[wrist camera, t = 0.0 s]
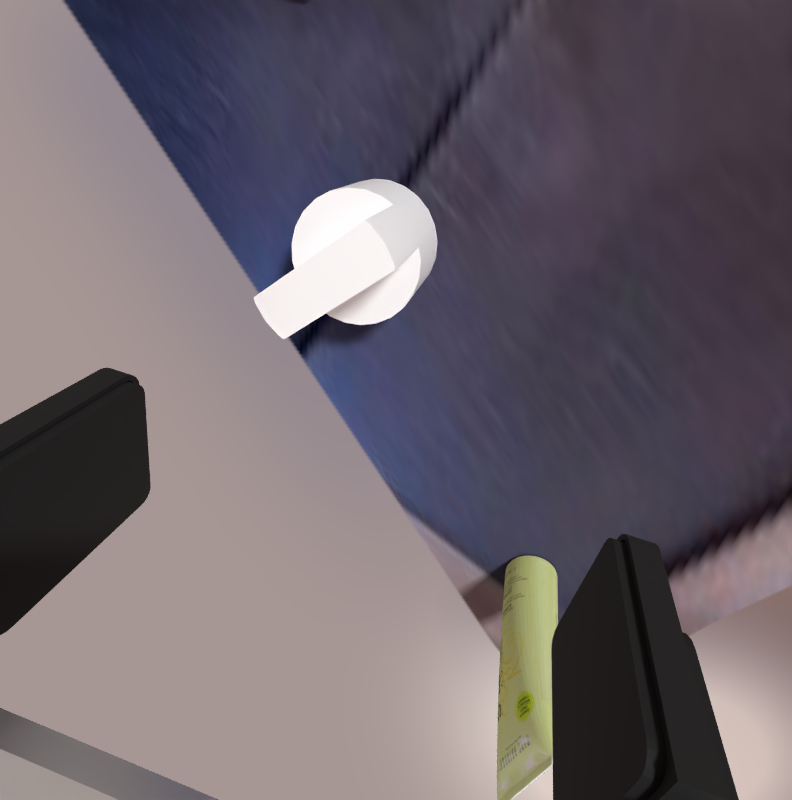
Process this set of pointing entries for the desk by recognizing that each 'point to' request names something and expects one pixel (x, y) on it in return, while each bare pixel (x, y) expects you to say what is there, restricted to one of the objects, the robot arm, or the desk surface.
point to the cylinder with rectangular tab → (353, 258)
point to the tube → (526, 674)
